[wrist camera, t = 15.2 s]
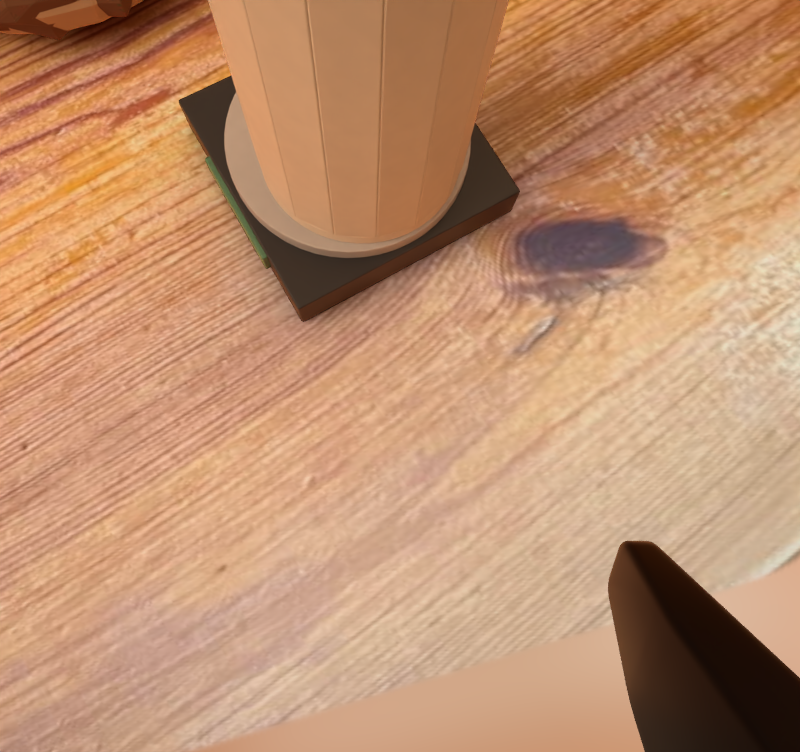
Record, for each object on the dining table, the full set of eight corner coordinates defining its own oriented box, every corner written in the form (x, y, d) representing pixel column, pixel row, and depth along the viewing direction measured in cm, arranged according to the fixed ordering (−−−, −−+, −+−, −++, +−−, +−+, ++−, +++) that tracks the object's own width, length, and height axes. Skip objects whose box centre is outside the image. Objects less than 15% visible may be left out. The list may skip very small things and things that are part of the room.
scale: (297, 325, 24) (291, 307, 22) (184, 127, 25) (167, 91, 23) (511, 210, 25) (525, 182, 23) (393, 28, 26) (395, -14, 24)
